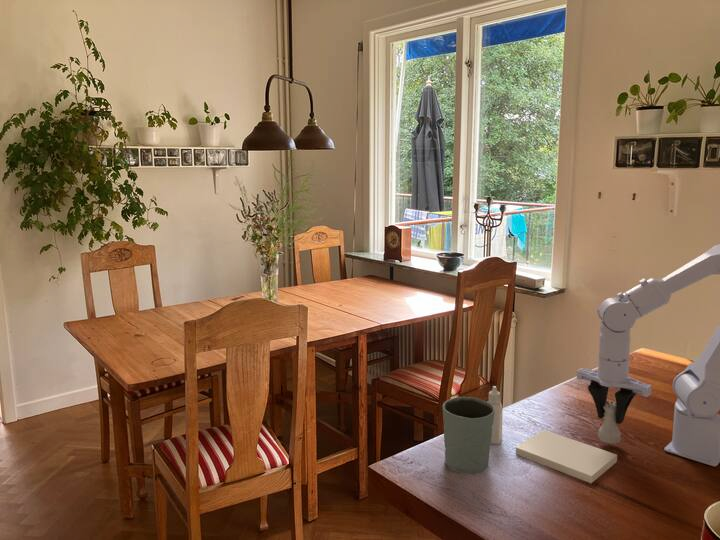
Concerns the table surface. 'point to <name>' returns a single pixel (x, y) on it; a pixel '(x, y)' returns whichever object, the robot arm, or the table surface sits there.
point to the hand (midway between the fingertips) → (610, 419)
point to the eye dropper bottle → (496, 416)
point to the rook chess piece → (609, 424)
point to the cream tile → (567, 455)
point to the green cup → (467, 433)
